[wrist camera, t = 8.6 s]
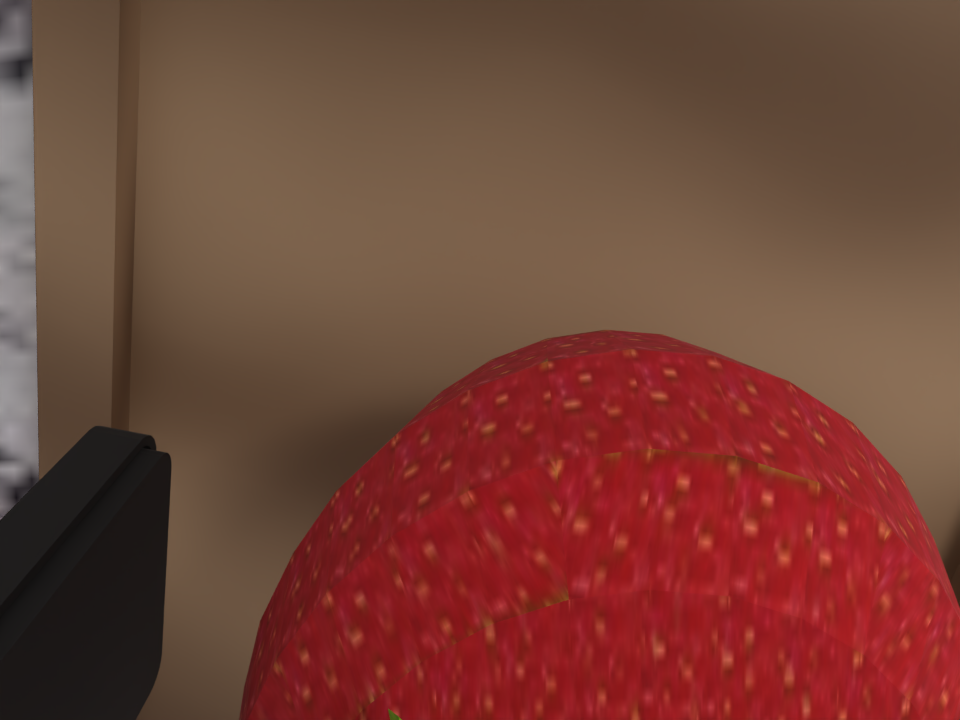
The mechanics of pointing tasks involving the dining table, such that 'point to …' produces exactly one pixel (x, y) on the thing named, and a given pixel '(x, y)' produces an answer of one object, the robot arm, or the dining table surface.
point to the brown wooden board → (470, 238)
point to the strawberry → (615, 557)
